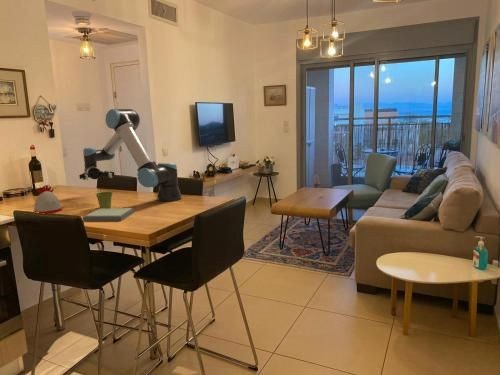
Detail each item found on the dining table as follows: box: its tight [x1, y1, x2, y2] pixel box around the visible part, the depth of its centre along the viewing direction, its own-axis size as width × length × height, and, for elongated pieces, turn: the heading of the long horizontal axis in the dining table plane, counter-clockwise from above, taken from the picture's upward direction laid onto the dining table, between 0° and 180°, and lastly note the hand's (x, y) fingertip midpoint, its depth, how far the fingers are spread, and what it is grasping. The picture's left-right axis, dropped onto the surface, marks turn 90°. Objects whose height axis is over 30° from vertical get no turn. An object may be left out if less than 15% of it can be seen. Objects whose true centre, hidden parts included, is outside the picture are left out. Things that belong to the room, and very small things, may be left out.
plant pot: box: [95, 191, 114, 209], centre depth 217 cm, size 9×9×9 cm
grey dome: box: [33, 185, 63, 214], centre depth 210 cm, size 14×14×15 cm
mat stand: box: [82, 207, 135, 222], centre depth 196 cm, size 20×18×3 cm
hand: (99, 176), depth 223 cm, fingers open, 13 cm apart
